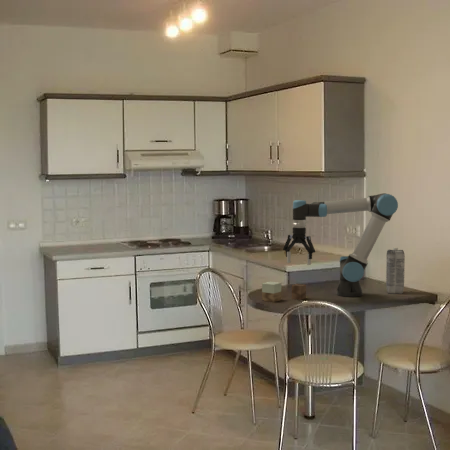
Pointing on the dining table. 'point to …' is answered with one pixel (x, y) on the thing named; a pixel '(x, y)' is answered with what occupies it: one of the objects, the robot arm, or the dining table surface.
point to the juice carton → (395, 271)
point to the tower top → (271, 287)
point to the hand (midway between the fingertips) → (298, 263)
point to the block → (299, 291)
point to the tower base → (271, 296)
